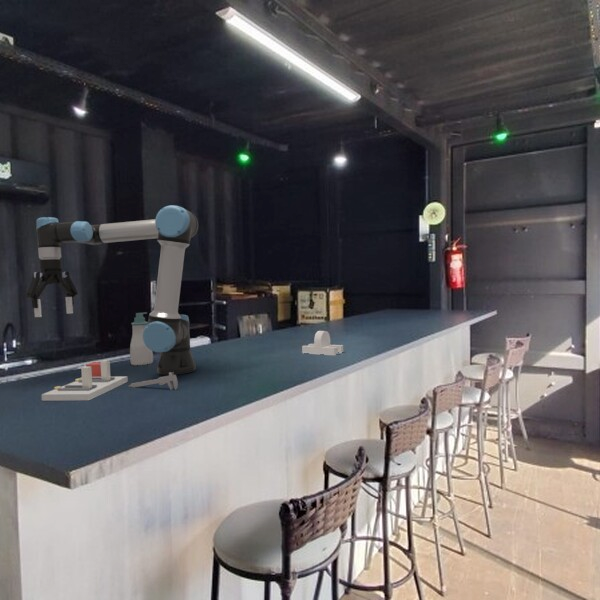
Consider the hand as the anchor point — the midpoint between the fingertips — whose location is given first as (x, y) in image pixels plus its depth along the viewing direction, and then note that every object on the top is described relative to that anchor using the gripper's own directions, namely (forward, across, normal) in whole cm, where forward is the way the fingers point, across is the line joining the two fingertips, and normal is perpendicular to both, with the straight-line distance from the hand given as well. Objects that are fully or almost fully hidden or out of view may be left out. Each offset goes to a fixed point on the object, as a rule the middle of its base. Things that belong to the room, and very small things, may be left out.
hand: (54, 315), depth 179 cm
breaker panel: (+26, +8, +24) cm, 36 cm away
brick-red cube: (+26, -8, +12) cm, 29 cm away
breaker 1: (+23, +13, +29) cm, 40 cm away
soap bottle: (+26, -37, +6) cm, 46 cm away
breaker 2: (+23, +2, +26) cm, 35 cm away
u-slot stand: (+27, -83, +76) cm, 115 cm away
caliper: (+26, -1, +44) cm, 52 cm away
